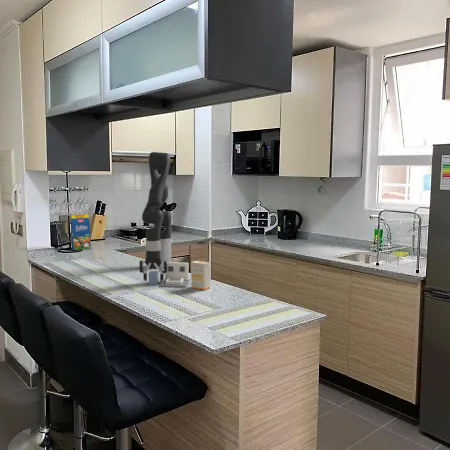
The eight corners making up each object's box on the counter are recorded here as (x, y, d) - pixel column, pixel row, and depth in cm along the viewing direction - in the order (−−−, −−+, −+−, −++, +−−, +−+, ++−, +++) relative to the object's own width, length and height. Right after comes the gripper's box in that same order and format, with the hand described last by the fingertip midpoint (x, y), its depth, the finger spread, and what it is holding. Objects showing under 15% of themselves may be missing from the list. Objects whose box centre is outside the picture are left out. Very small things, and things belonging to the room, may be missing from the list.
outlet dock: (164, 280, 240) (164, 262, 239) (189, 281, 239) (189, 262, 238) (159, 286, 227) (159, 267, 226) (185, 287, 226) (185, 267, 225)
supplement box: (210, 288, 225) (210, 262, 223) (204, 290, 221) (204, 263, 219) (196, 285, 230) (196, 260, 228) (190, 287, 226) (190, 261, 224)
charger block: (150, 282, 236) (150, 270, 235) (158, 282, 236) (158, 270, 235) (148, 284, 232) (148, 271, 231) (156, 284, 232) (156, 272, 231)
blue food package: (90, 248, 331) (89, 214, 328) (73, 250, 325) (72, 215, 322) (88, 247, 337) (87, 213, 334) (71, 248, 330) (70, 214, 327)
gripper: (168, 248, 235) (168, 279, 237) (141, 247, 236) (141, 278, 238) (165, 250, 227) (165, 282, 229) (137, 250, 228) (137, 282, 230)
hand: (153, 280), depth 234 cm, fingers open, 7 cm apart
